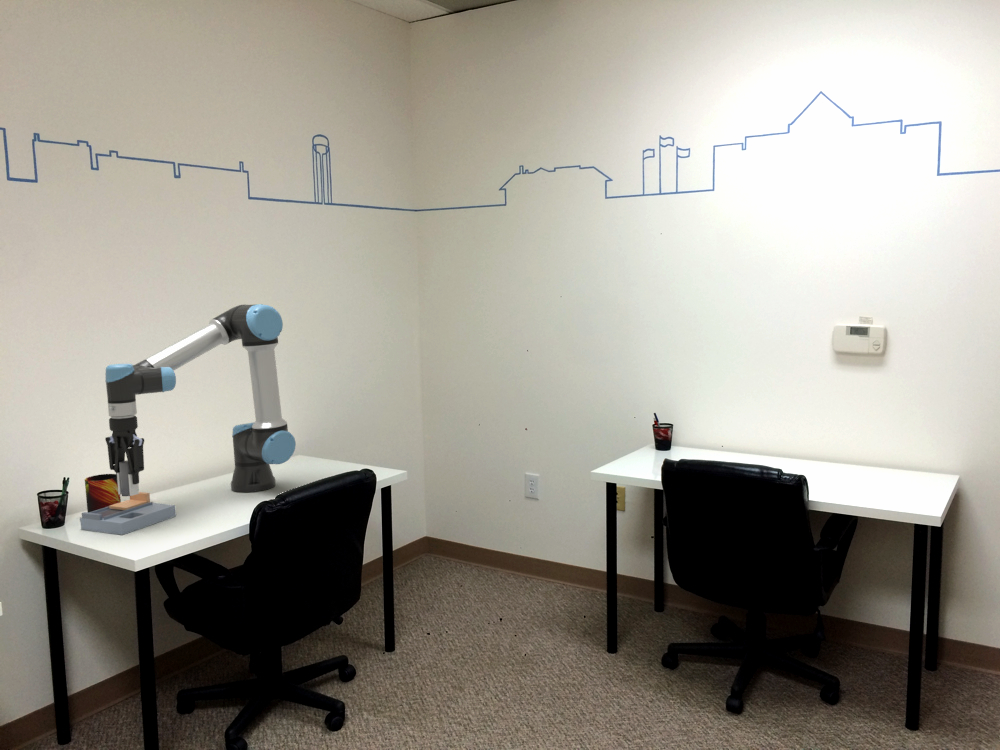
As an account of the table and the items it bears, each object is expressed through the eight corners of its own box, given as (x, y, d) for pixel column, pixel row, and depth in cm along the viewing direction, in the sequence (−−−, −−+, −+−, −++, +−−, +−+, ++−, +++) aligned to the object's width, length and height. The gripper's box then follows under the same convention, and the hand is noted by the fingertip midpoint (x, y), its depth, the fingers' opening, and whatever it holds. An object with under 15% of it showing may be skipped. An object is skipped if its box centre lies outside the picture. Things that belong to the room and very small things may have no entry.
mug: (139, 508, 259) (136, 472, 258) (101, 520, 247) (98, 482, 245) (119, 505, 263) (116, 470, 262) (81, 516, 251) (77, 479, 250)
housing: (136, 511, 255) (134, 495, 255) (175, 516, 248) (174, 500, 248) (81, 529, 237) (79, 512, 237) (122, 535, 230) (120, 517, 230)
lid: (133, 500, 253) (132, 491, 253) (150, 502, 250) (149, 492, 250) (109, 508, 245) (108, 498, 245) (126, 510, 242) (125, 500, 242)
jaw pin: (129, 492, 240) (127, 459, 239) (139, 493, 238) (136, 460, 237) (118, 495, 236) (116, 462, 235) (128, 496, 234) (125, 463, 233)
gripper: (91, 417, 235) (97, 494, 237) (133, 419, 228) (139, 499, 230) (113, 413, 241) (118, 488, 244) (154, 415, 234) (159, 493, 237)
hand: (128, 493), depth 237 cm, fingers closed on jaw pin, 4 cm apart
